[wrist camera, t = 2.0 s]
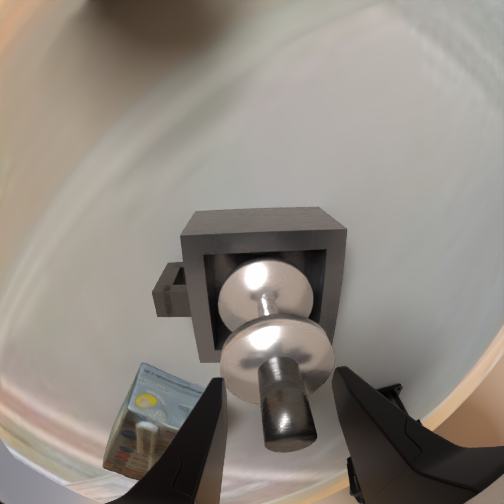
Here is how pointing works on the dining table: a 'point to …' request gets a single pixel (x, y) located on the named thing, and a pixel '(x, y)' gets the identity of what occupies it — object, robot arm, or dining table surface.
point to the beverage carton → (148, 421)
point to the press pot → (243, 249)
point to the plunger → (274, 348)
